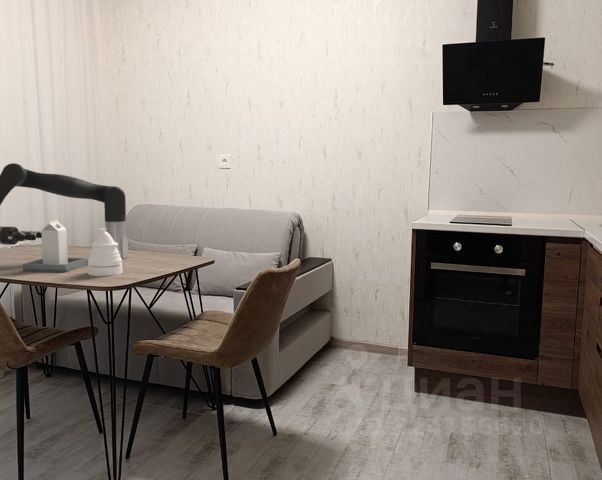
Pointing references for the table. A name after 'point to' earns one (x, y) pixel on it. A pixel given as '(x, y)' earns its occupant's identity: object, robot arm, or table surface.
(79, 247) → the table surface
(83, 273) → the table surface
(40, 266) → the charcoal tray
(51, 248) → the milk carton
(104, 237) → the honey pot
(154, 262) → the table surface
